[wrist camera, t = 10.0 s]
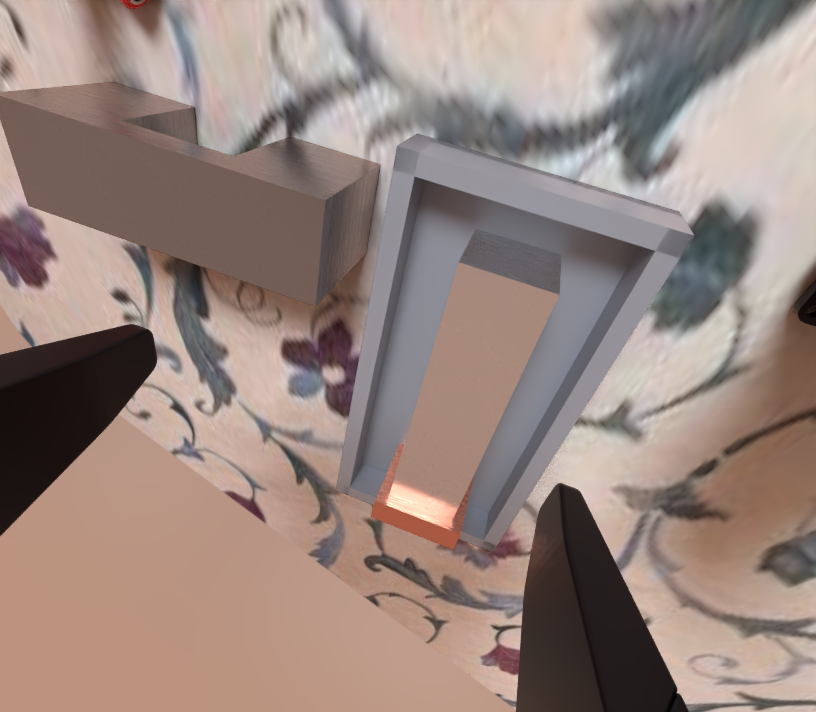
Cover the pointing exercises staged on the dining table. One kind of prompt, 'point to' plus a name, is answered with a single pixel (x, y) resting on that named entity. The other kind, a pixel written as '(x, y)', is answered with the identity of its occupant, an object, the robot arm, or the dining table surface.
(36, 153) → the block
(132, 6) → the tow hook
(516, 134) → the dining table surface
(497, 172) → the tray
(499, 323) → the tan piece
